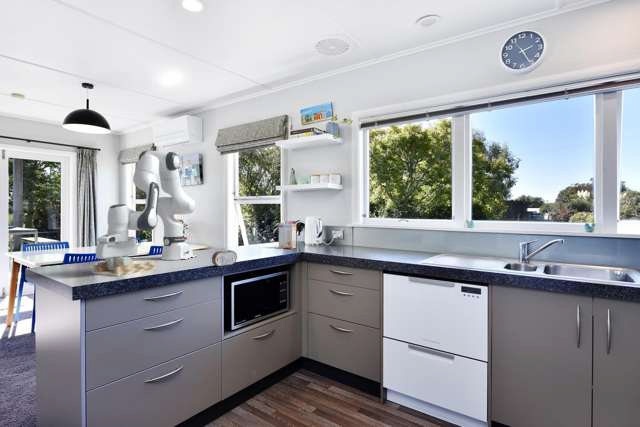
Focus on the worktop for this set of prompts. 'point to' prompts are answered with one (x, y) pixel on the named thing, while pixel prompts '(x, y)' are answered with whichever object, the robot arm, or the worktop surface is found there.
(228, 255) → the tin
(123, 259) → the slider
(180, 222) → the robot arm
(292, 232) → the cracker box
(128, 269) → the track
